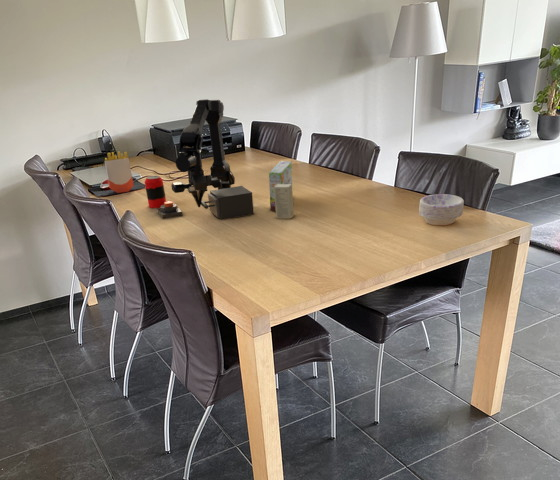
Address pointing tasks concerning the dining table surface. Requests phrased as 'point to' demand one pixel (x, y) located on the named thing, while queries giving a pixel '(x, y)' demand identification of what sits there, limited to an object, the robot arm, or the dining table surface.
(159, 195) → the soda can
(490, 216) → the dining table surface
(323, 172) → the dining table surface
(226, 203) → the dark grey hollow box
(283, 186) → the cosmetic box
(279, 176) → the snack box
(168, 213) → the panel
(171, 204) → the button
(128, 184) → the french fries container
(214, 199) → the drawer
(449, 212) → the grey stone bowl
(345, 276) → the dining table surface
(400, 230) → the dining table surface
